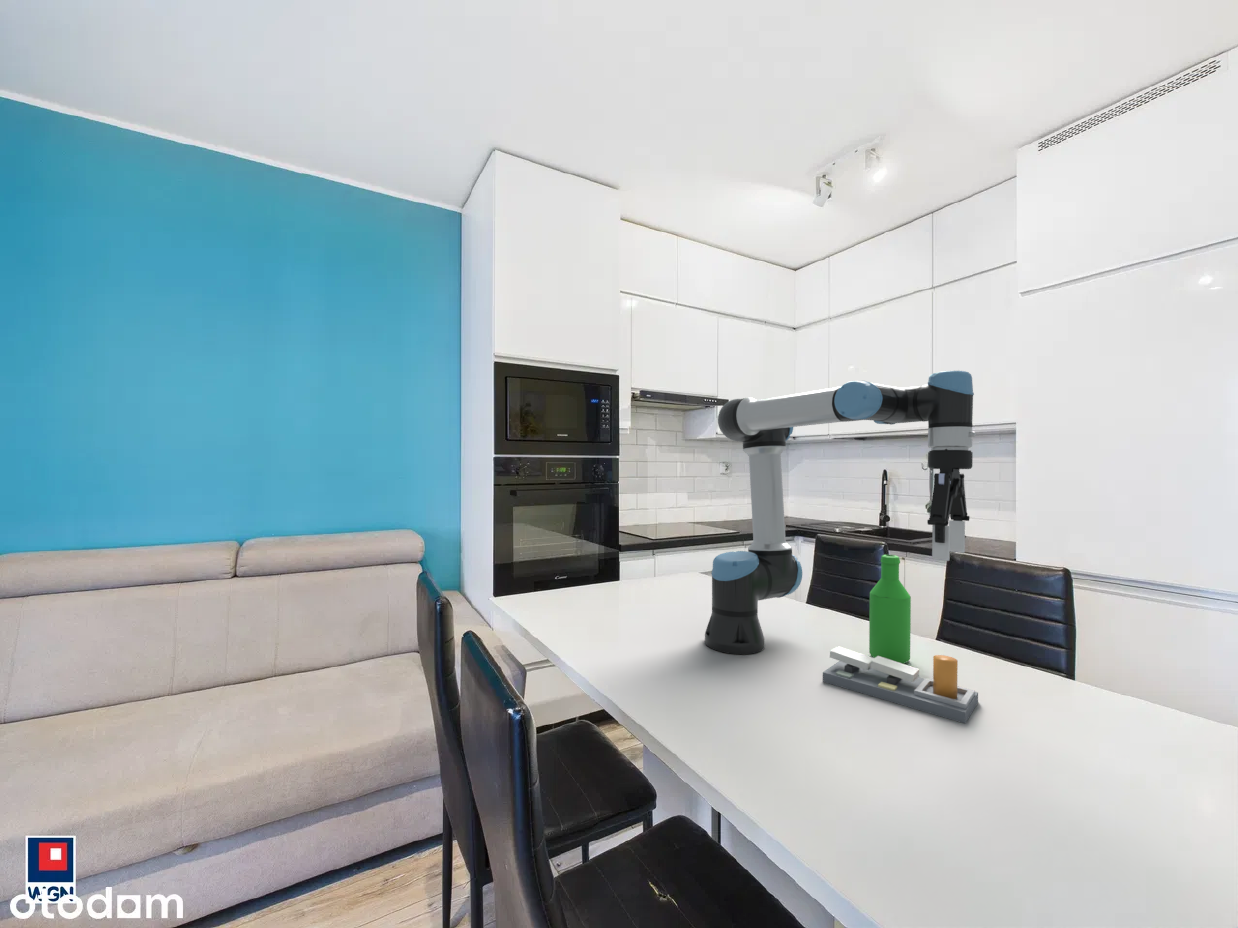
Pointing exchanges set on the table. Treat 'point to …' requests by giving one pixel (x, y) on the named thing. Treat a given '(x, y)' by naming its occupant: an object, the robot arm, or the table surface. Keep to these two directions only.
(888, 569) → the bottle
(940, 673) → the pin
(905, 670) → the breaker
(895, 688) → the panel
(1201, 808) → the table surface
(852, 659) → the block
